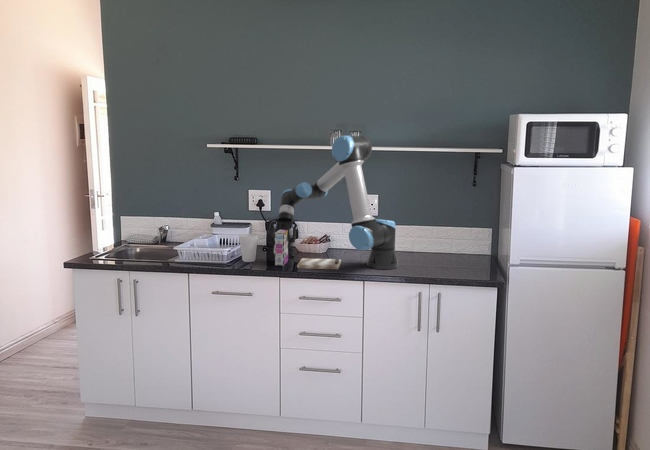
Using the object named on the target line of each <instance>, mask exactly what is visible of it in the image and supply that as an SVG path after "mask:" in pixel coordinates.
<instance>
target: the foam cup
mask: <svg viewBox="0 0 650 450" xmlns="http://www.w3.org/2000/svg"><path fill="white" fill-rule="evenodd" d="M238 240H239V245H240V251H241V252H240V253H241V259H242V262H245V263H251V262H255V261H256V255H257V246H258V240H259V235H258V234H256V233H241V234H239V235H238Z"/></svg>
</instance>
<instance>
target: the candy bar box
mask: <svg viewBox="0 0 650 450" xmlns="http://www.w3.org/2000/svg"><path fill="white" fill-rule="evenodd" d="M287 234H288V230H278V229H277V231H275V232H274V237H275V255H274V266H277V267H278V266H281V267H285V265H287V263H288V262H289V252H288V253H287V255H286V254H285V249H286V242H287V241H288V236H287Z"/></svg>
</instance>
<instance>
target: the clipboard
mask: <svg viewBox="0 0 650 450" xmlns="http://www.w3.org/2000/svg"><path fill="white" fill-rule="evenodd" d="M341 262H342V259H341V258H338V259H337V258H309V257H308V258H307V257H306V258H304V257H302V258H301V259H300V261H299V262H298V263H297V265H296V268H297V269H310V270H311V269H316V270H321V269H322V270H339V269H340V265H341V264H342V263H341Z"/></svg>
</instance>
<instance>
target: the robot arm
mask: <svg viewBox="0 0 650 450" xmlns="http://www.w3.org/2000/svg"><path fill="white" fill-rule="evenodd" d="M372 152H373V145H372V142H371V141H370V140H369V139H368V138H367V137H365V136H363V135H348V134H347V135H346V134H345V135H341V136H338V137H337V138H336V139H335V140H334V142H333V143H332V145H331V155H332V157H333V158H334V159H335V161H337V163H335V164H334V165H333V166H332V167H331V168H330V169H329V170H328V171H327V172H325V174H323V175H322V176H321V177H320V178H319V179H318V180H316V182H314V183H313V184H310V183H308V182H307V181H303V182H301V183H299V184H296V186H295V187H294V188H293V189H292V188H288V189H284V190H282V194H281V196H280V197H281V198H280V205H279V211H278V216H277V217H278V218H277V222H276V223H271V224H270V225H271V230H270V234H269V242H270V243H272V248H273V254H274V256H275V232H276V228H277V231H278V230H288V234H287V236H288V241H287V242H286V249H285V254H286V255H287V253H288V254H289V249H291V246H292V245H291V244H294V243H296V234H297V230H298V224H294V223H293V221H294V214H295V213H294V212H295V207H296V205H297V204H299V203H300V202H302V201H305V200H311V199H312V200H313V199H322V198H325V197H327V195H328V192H329V190H331V189H332V188H333V187H334V186H335V185H336V184H337V183H339V182H340V181H341V180H342V179H343V178H345V184H346V189H347V193H348V198H349V203H350V207H351V212H352V213H351V214H352V218H353V220H352V221H351V223H350V224H351V228H350V230H349V232H348V239H349V242H350V244H351V246H352V247H353V248H355V250H358V251H368V250H370V253H369V255H368V258H367V261H366V266H367V267H368V268H370V269H373V270H374V269H375V270H394V269H398V267H399V261H398V257H397V254H396V230H397V229H396V222H395V221H393V220H388V219H380V218H379V219H378V218H377V219H376V217H374V216H373V215H372V212H371V206H370V201H369V197H368V196H369V195H368V191H367V187H366V182H365V177H364V172H363V168H362V167H363V164H364V162H366V161H367V160H368V158H370V156H371V154H372ZM291 229H292V234H290V230H291ZM291 235H292V236H291Z"/></svg>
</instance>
